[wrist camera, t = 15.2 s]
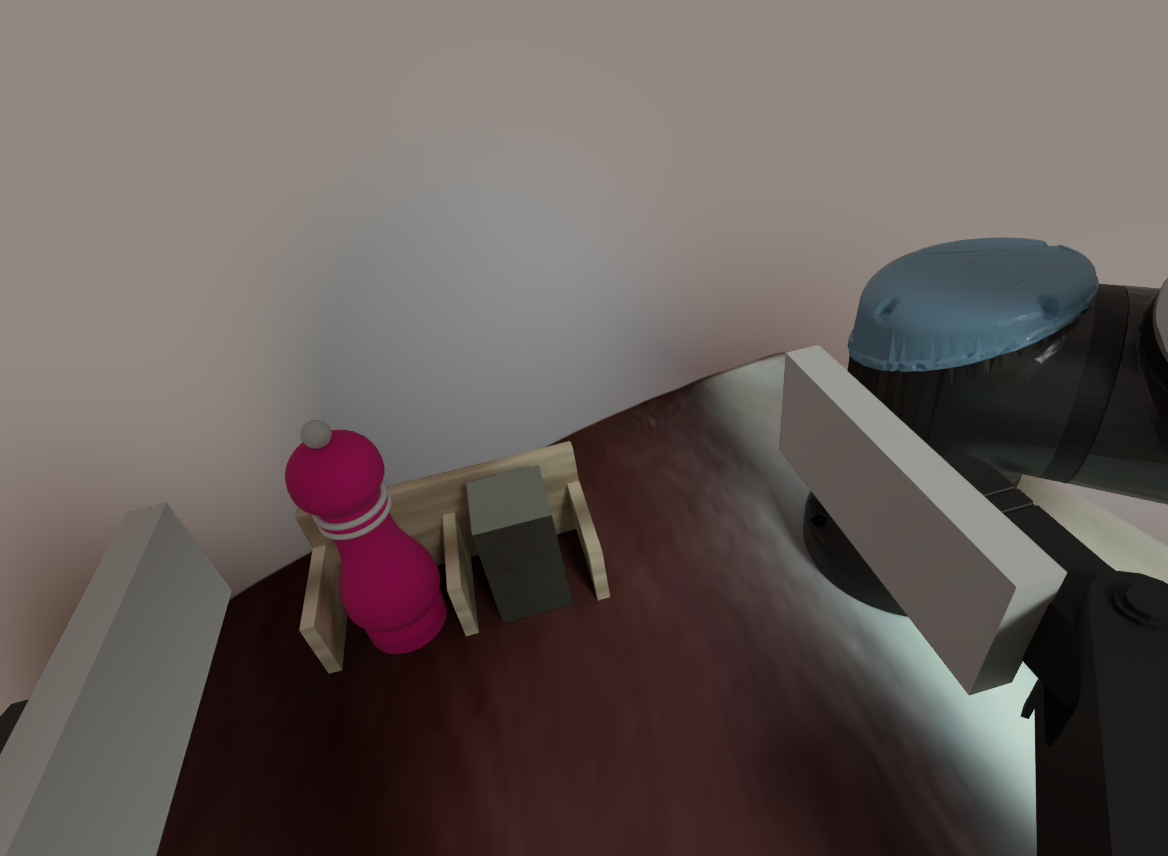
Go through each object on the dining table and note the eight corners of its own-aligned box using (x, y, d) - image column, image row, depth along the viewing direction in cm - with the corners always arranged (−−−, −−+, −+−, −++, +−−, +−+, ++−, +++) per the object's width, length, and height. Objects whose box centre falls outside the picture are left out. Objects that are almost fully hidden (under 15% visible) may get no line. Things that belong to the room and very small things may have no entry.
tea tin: (572, 604, 50) (551, 514, 44) (503, 623, 49) (472, 535, 43) (559, 552, 54) (538, 464, 48) (495, 569, 54) (466, 482, 48)
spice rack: (610, 596, 50) (596, 516, 44) (328, 673, 48) (278, 599, 42) (584, 518, 57) (570, 441, 52) (339, 582, 55) (296, 508, 49)
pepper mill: (443, 659, 47) (347, 457, 35) (351, 663, 48) (226, 466, 36) (461, 581, 53) (384, 384, 41) (379, 586, 54) (279, 394, 42)
